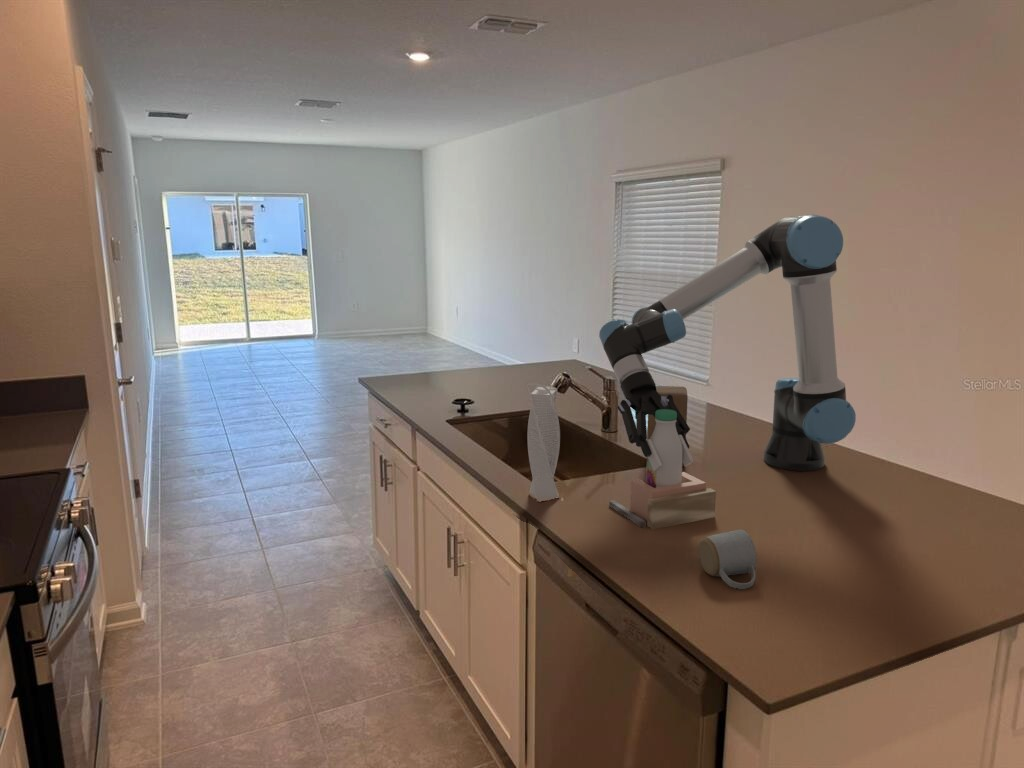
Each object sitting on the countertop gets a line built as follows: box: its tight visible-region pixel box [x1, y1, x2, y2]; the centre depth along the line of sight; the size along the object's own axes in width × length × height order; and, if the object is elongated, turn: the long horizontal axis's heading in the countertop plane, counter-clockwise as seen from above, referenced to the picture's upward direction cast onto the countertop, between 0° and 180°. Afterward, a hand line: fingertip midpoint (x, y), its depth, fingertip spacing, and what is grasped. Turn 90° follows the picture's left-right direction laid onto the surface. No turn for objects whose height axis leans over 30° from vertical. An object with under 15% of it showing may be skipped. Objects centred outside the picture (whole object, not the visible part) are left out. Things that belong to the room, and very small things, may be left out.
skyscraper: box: [526, 382, 561, 500], centre depth 161 cm, size 8×8×28 cm
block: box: [646, 385, 689, 467], centre depth 187 cm, size 10×10×20 cm
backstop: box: [608, 487, 717, 530], centre depth 154 cm, size 15×19×6 cm
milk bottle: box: [645, 409, 683, 488], centre depth 153 cm, size 8×8×20 cm
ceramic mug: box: [698, 529, 758, 590], centre depth 124 cm, size 11×8×8 cm
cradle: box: [629, 471, 707, 522], centre depth 153 cm, size 8×14×7 cm, turn 113°
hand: (673, 465), depth 150 cm, fingers closed on milk bottle, 7 cm apart
